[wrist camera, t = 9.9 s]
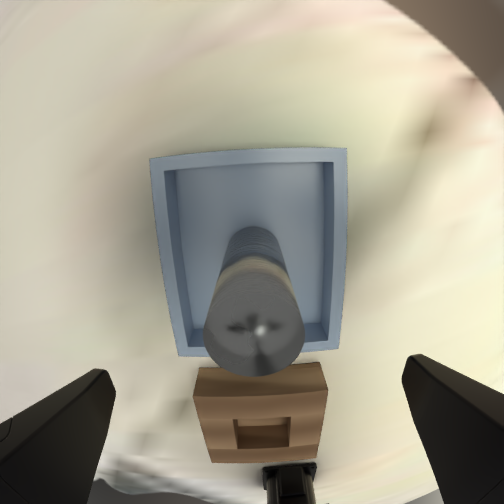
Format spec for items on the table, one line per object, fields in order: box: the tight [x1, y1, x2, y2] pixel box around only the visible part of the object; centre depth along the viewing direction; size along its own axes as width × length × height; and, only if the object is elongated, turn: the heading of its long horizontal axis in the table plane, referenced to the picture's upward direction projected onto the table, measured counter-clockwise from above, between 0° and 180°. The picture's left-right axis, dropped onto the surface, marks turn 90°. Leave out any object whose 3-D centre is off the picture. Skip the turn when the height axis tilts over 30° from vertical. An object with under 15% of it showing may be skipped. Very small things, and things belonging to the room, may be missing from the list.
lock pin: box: [203, 226, 305, 377], centre depth 14 cm, size 4×4×10 cm
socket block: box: [193, 362, 328, 463], centre depth 23 cm, size 10×10×4 cm
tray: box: [150, 147, 348, 357], centre depth 18 cm, size 13×11×3 cm
